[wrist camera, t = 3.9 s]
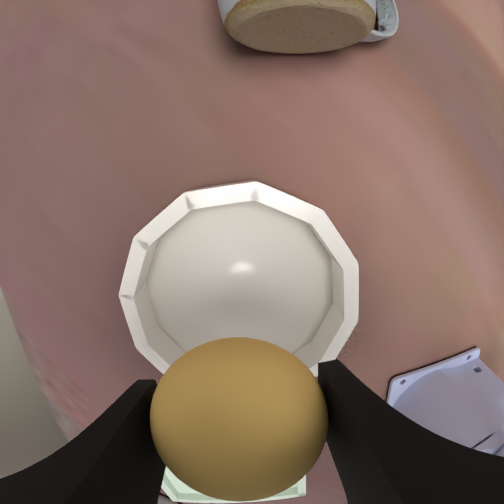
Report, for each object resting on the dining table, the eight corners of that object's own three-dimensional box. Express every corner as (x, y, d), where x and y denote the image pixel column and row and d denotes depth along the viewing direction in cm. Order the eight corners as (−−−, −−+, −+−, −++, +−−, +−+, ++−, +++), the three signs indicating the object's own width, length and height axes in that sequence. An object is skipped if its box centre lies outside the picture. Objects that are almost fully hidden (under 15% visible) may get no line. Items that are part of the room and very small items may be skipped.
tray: (302, 425, 20) (305, 439, 19) (304, 484, 23) (305, 495, 22) (136, 433, 20) (132, 446, 19) (174, 491, 23) (172, 501, 22)
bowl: (334, 171, 15) (352, 171, 13) (342, 357, 19) (354, 382, 16) (120, 203, 15) (98, 209, 13) (167, 378, 19) (159, 405, 16)
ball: (305, 295, 9) (360, 408, 4) (310, 406, 10) (340, 510, 6) (151, 316, 9) (92, 428, 4) (187, 420, 10) (172, 523, 6)
